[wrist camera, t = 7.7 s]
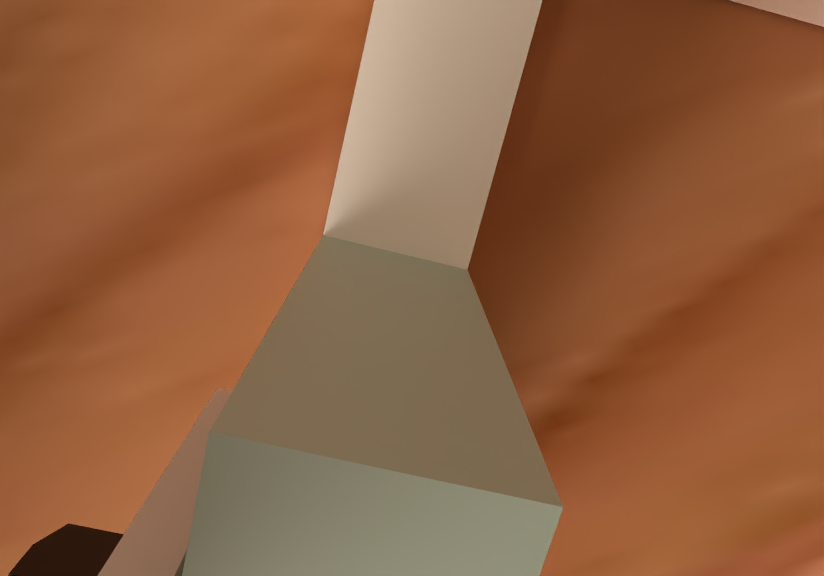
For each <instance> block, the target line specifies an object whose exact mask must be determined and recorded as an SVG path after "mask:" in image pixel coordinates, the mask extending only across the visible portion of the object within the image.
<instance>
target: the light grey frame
mask: <svg viewBox="0 0 824 576" xmlns="http://www.w3.org/2000/svg"><path fill="white" fill-rule="evenodd" d="M730 1H733V2H737V3H741V4H744V5H748V6H751V7H755V8H758V9H762V10H765V11H769V12H772V13H776V14H780V15H783V16H787V17H790V18H794V19H797V20H801V21H804V22H808V23H811V24H815V25H819V26H822V27H824V0H730ZM541 4H542V0H374V5H373V9H372V14H371V18H370V23H369V28H368V32H367V37H366V41H365V46H364V50H363V55H362V60H361V64H360V69H359V73H358V78H357V82H356V87H355V92H354V96H353V101H352V105H351V110H350V114H349V119H348V124H347V128H346V133H345V137H344V142H343V146H342V151H341V156H340V160H339V165H338V169H337V174H336V178H335V183H334V188H333V192H332V197H331V201H330V206H329V211H328V215H327V220H326V224H325V229H324V233H323V236H322V238H321V240H320V241H319V243H318V245H317V247H316V248H315V250H314V252H313V253H312V255H311V257H310V259H309V260H308V262H307V264H306V265H305V267H304V269H303V271H302V272H301V274H300V276H299V278H298V279H297V281H296V283H295V284H294V286H293V288H292V290H291V291H290V293H289V295H288V297H287V298H286V300H285V302H284V303H283V305H282V307H281V309H280V310H279V312H278V314H277V315H276V317H275V319H274V321H273V322H272V324H271V326H270V328H269V329H268V331H267V333H266V334H265V336H264V338H263V340H262V341H261V343H260V345H259V347H258V348H257V350H256V352H255V353H254V355H253V357H252V359H251V360H250V362H249V364H248V365H247V367H246V369H245V371H244V372H243V374H242V376H241V378H240V379H239V381H238V383H237V384H236V386H235V388H234V390H233V391H232V393H231V395H230V397H229V398H228V400H227V402H226V403H225V405H224V407H223V409H222V410H221V412H220V414H219V415H218V417H217V419H216V421H215V422H214V424H213V426H212V428H211V429H210V431H209V435H208V440H207V446H206V451H205V456H204V462H203V467H202V472H201V478H200V483H199V488H198V493H197V499H196V504H195V509H194V515H193V520H192V525H191V531H190V536H189V541H188V546H187V552H186V557H185V562H184V568H183V573H182V576H539V575H540V572H541V570H542V567H543V564H544V561H545V558H546V555H547V552H548V550H549V547H550V544H551V541H552V538H553V535H554V532H555V529H556V527H557V524H558V521H559V518H560V515H561V512H562V509H563V505H562V503H561V500H560V498H559V495H558V493H557V490H556V488H555V485H554V483H553V481H552V478H551V476H550V473H549V471H548V468H547V466H546V463H545V461H544V458H543V456H542V453H541V451H540V448H539V446H538V443H537V441H536V438H535V436H534V433H533V431H532V428H531V426H530V424H529V421H528V419H527V416H526V414H525V411H524V409H523V406H522V404H521V401H520V399H519V396H518V394H517V391H516V389H515V386H514V384H513V381H512V379H511V376H510V374H509V371H508V369H507V367H506V364H505V362H504V359H503V357H502V354H501V352H500V349H499V347H498V344H497V342H496V339H495V337H494V334H493V332H492V329H491V327H490V324H489V322H488V319H487V317H486V315H485V312H484V310H483V307H482V305H481V302H480V300H479V297H478V295H477V292H476V290H475V287H474V285H473V282H472V280H471V277H470V275H469V272H468V266H469V262H470V259H471V255H472V252H473V248H474V244H475V241H476V237H477V234H478V230H479V226H480V223H481V219H482V216H483V212H484V209H485V205H486V201H487V198H488V194H489V191H490V187H491V183H492V180H493V176H494V173H495V169H496V165H497V162H498V158H499V155H500V151H501V147H502V144H503V140H504V137H505V133H506V130H507V126H508V122H509V119H510V115H511V112H512V108H513V104H514V101H515V97H516V94H517V90H518V86H519V83H520V79H521V76H522V72H523V69H524V65H525V61H526V58H527V54H528V51H529V47H530V43H531V40H532V36H533V33H534V29H535V25H536V22H537V18H538V15H539V11H540V7H541Z"/></svg>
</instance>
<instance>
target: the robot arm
mask: <svg viewBox="0 0 824 576" xmlns="http://www.w3.org/2000/svg"><path fill="white" fill-rule="evenodd" d="M231 393H232V391H229V390H225V389H220V388H217V390H216V391H215V393H214V394H213V396H212V397H211V399H210V401H209V402H208V404H207V405H206V407H205V408H204V410H203V411H202V413H201V415H200V416H199V418H198V419H197V421H196V422H195V424H194V426H193V427H192V429H191V430H190V432H189V433H188V435H187V437H186V438H185V440H184V441H183V443H182V444H181V446H180V447H179V449H178V451H177V452H176V454H175V455H174V457H173V458H172V460H171V462H170V463H169V465H168V466H167V468H166V469H165V471H164V473H163V474H162V476H161V477H160V479H159V480H158V482H157V483H156V485H155V487H154V488H153V490H152V491H151V493H150V494H149V496H148V498H147V499H146V501H145V502H144V504H143V505H142V507H141V509H140V510H139V512H138V513H137V515H136V516H135V518H134V519H133V521H132V523H131V524H130V526H129V527H128V529H127V530H126V532H125V534H119V533H113V532H108V531H103V530H98V529H93V528H88V527H83V526H78V525H73V524H67V525H65V526H64V527H62V528H60V529H58V530H57V531H55V532H53V533H52V534H50V535H48V536H47V537H45V538H43V539H42V540H40V541H38V542H37V543H35V544H33V545H32V546H31V548H30V549H29V550H28V551H27V552H26V554H25V555H24V556H23V557H22V558H21V560H20V561H19V562H18V563H17V564H16V566H15V567H14V568H13V569H12V570H11V572H10V573H9V575H8V576H182V573H183V568H184V562H185V557H186V552H187V546H188V541H189V536H190V531H191V525H192V520H193V515H194V509H195V504H196V499H197V493H198V488H199V483H200V478H201V472H202V467H203V462H204V456H205V451H206V446H207V440H208V435H209V431H210V429H211V428H212V426H213V424H214V422H215V421H216V419H217V417H218V415H219V414H220V412H221V410H222V409H223V407H224V405H225V403H226V402H227V400H228V398H229V397H230V395H231Z"/></svg>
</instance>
